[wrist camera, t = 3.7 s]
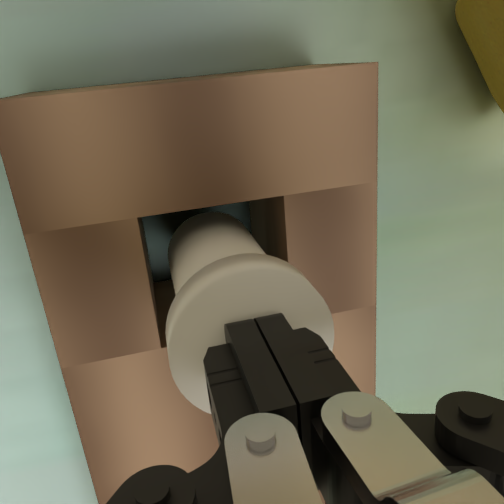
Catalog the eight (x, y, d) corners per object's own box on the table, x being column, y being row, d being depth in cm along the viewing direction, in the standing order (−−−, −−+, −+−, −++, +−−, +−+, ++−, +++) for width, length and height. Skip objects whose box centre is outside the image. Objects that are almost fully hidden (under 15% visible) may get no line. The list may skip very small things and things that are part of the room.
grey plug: (260, 191, 19) (332, 255, 12) (269, 292, 20) (336, 399, 14) (145, 208, 18) (155, 287, 11) (164, 312, 19) (182, 435, 13)
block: (314, 64, 21) (378, 62, 16) (330, 498, 31) (373, 590, 25) (27, 92, 19) (-15, 101, 14) (140, 551, 29) (143, 664, 23)
